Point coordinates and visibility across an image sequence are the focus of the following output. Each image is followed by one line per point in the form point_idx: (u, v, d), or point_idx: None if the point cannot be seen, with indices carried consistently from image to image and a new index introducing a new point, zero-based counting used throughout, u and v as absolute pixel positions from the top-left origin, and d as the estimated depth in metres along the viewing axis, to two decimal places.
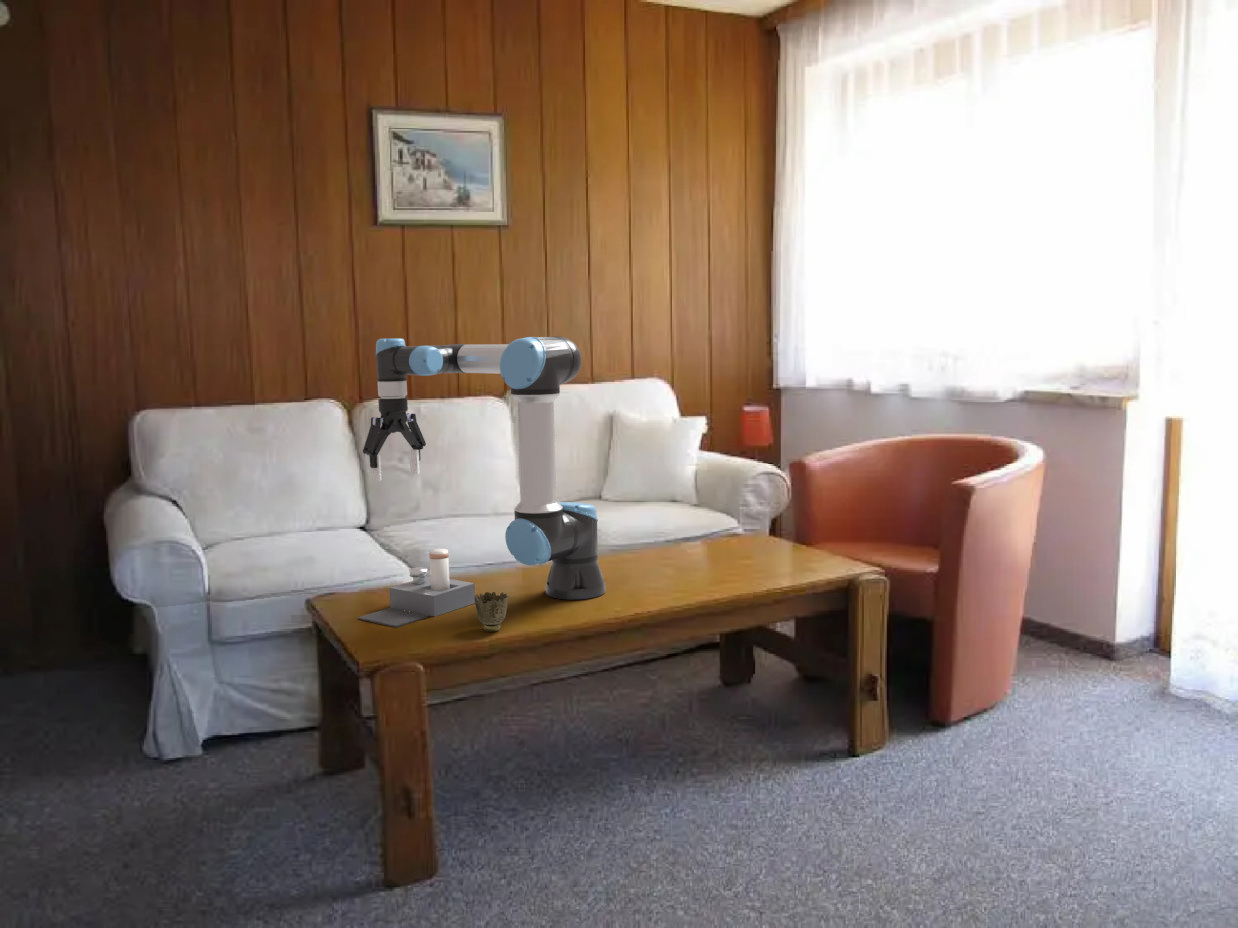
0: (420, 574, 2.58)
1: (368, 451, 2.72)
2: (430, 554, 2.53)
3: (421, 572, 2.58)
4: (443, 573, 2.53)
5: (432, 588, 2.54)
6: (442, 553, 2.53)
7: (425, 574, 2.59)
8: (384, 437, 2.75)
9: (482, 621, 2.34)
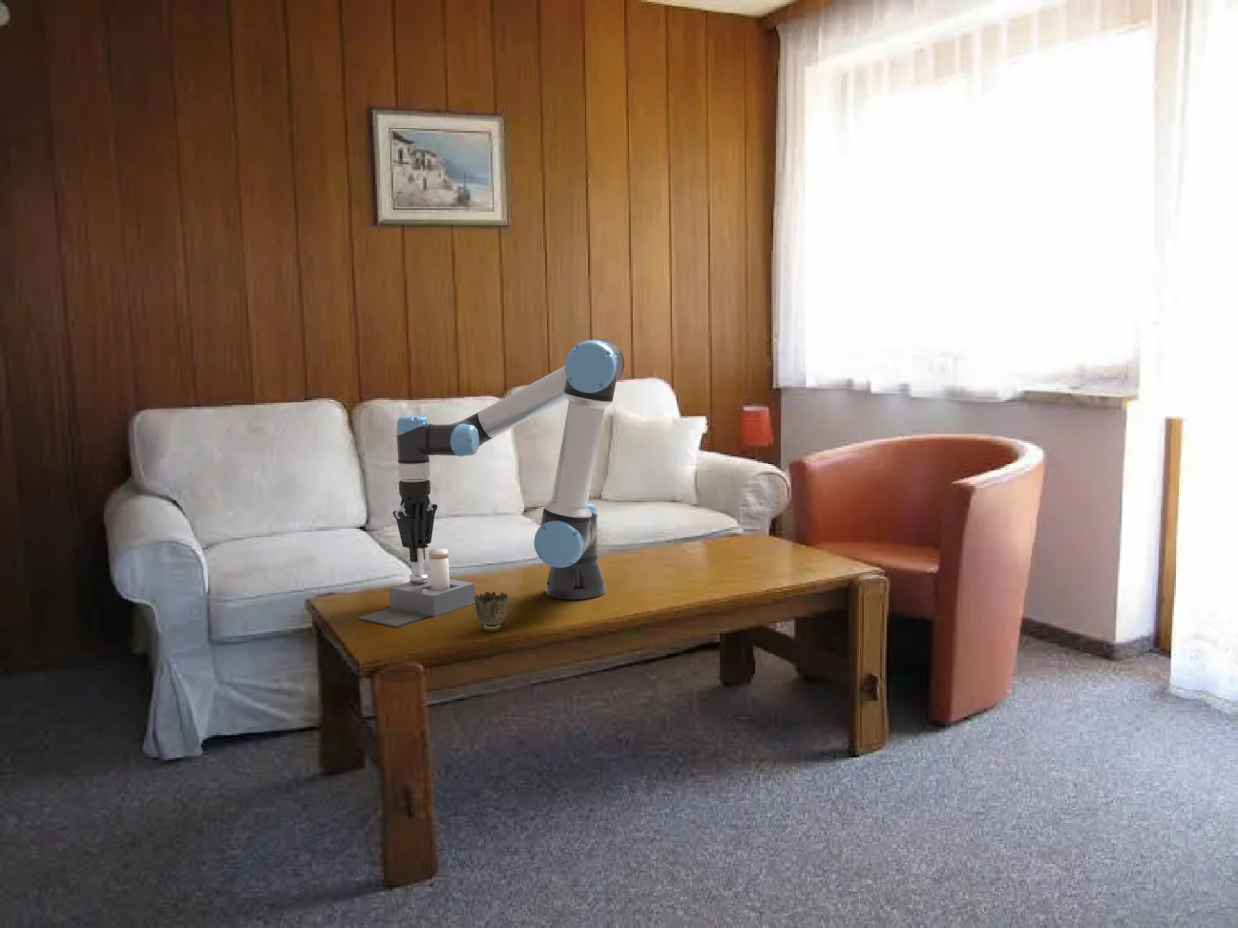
0: (420, 580, 2.58)
1: (408, 546, 2.55)
2: (430, 554, 2.53)
3: (421, 578, 2.58)
4: (443, 573, 2.53)
5: (432, 588, 2.54)
6: (442, 553, 2.53)
7: (425, 580, 2.59)
8: (415, 527, 2.56)
9: (482, 621, 2.34)
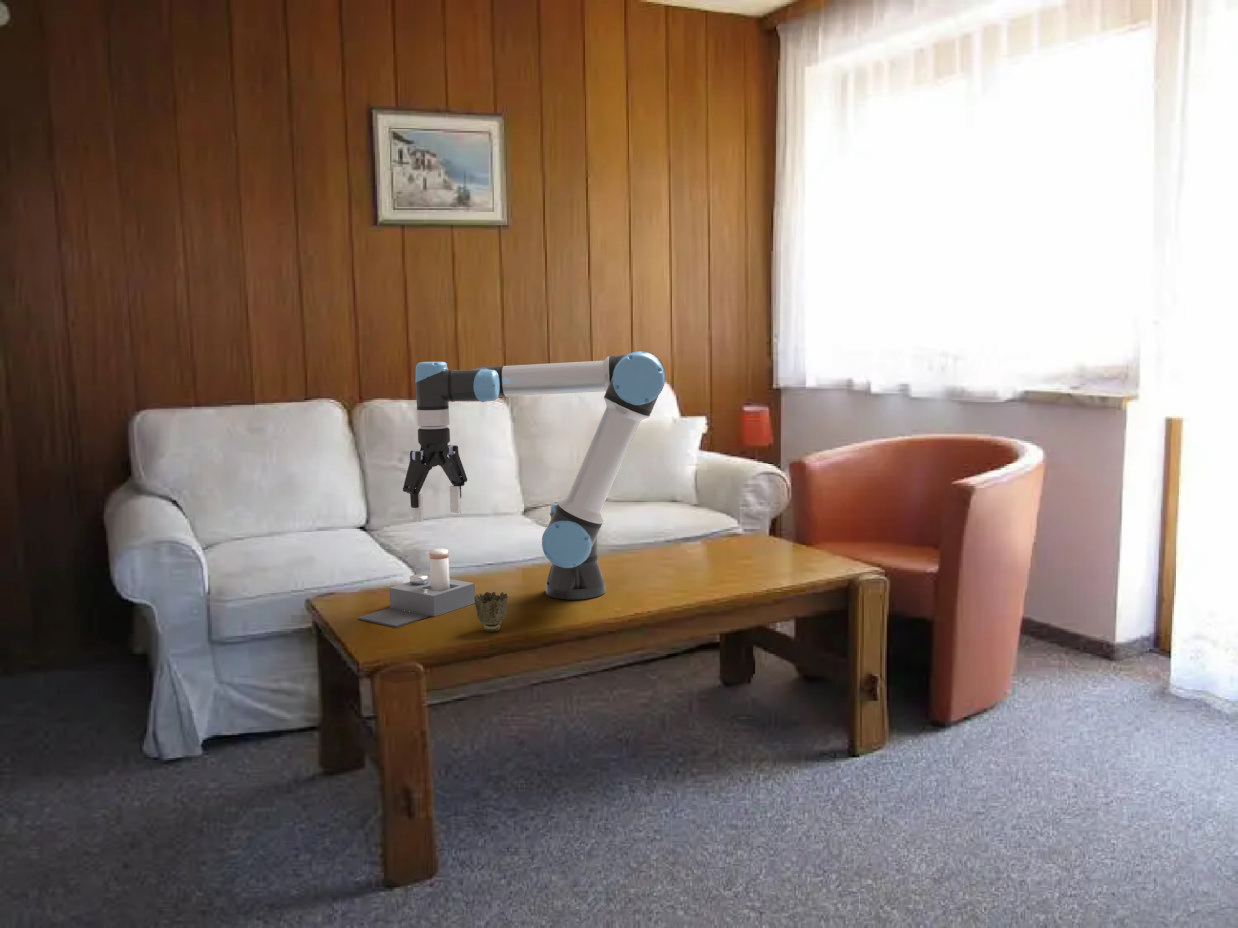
0: (420, 581, 2.58)
1: (409, 489, 2.44)
2: (430, 554, 2.53)
3: (421, 579, 2.58)
4: (443, 573, 2.53)
5: (432, 588, 2.54)
6: (442, 553, 2.53)
7: (425, 581, 2.59)
8: (425, 472, 2.48)
9: (482, 621, 2.34)
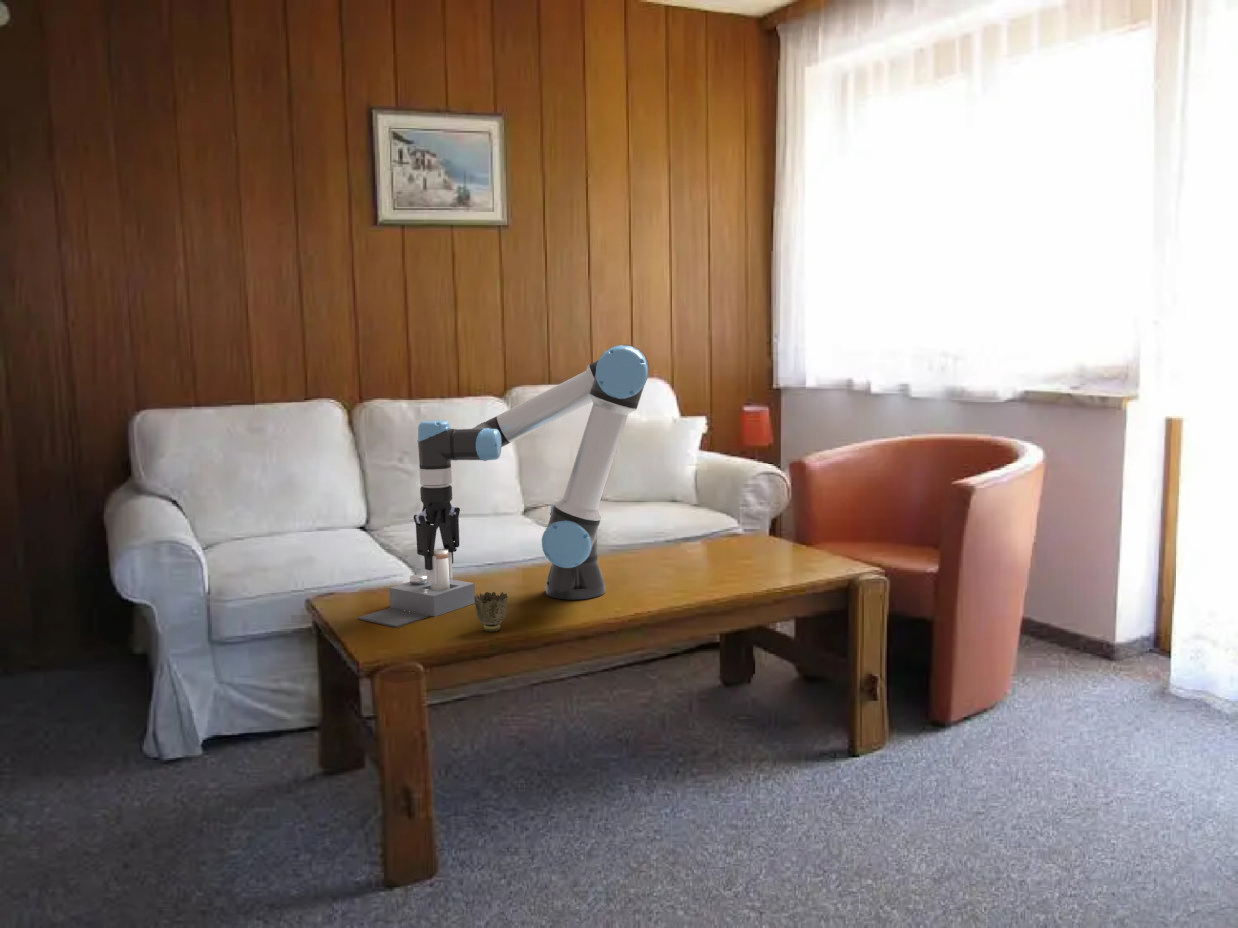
0: (420, 581, 2.58)
1: (423, 554, 2.49)
2: None
3: (421, 579, 2.58)
4: (443, 573, 2.53)
5: (432, 588, 2.54)
6: (442, 553, 2.53)
7: (425, 581, 2.59)
8: (433, 533, 2.51)
9: (482, 621, 2.34)
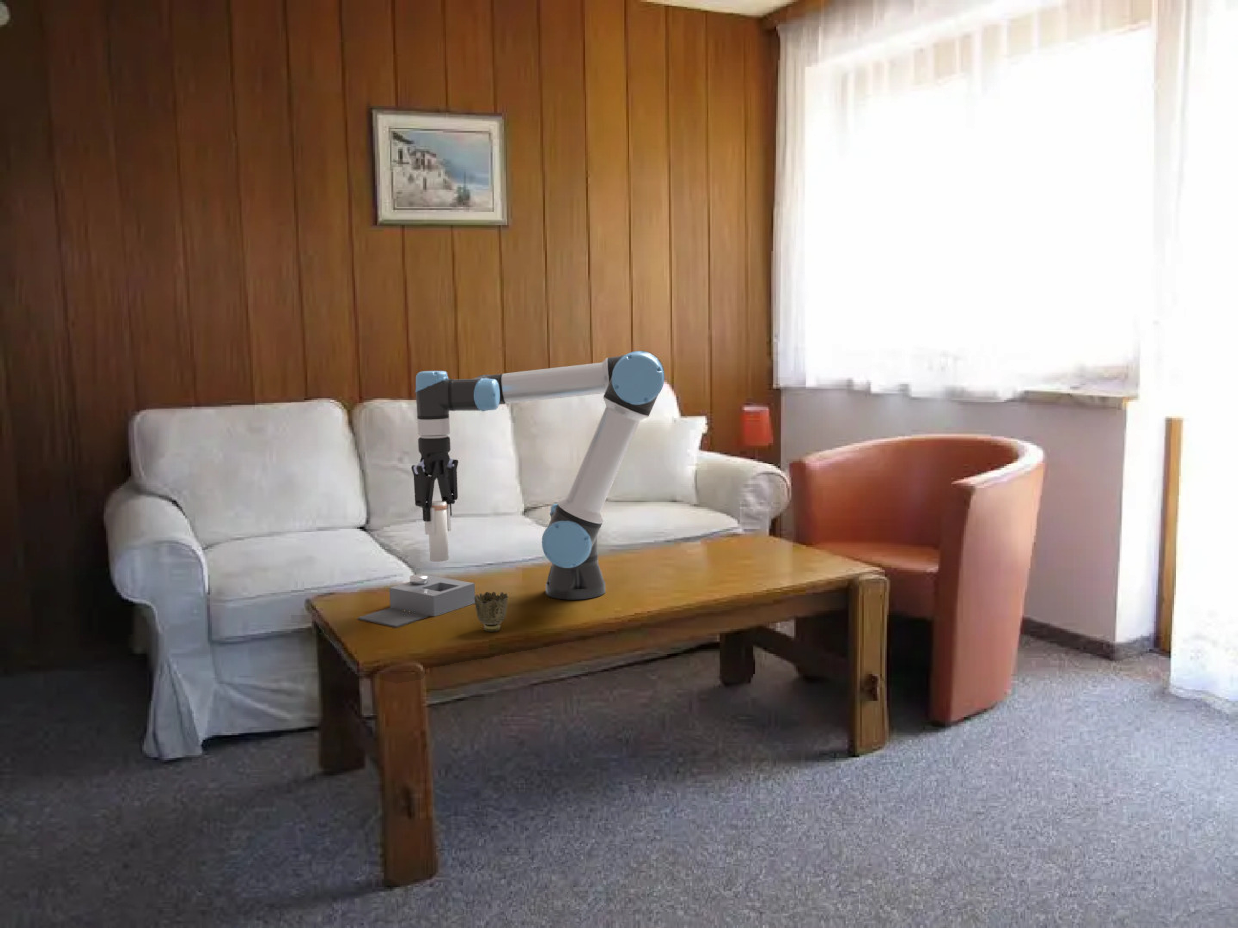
0: (420, 581, 2.58)
1: (421, 504, 2.48)
2: None
3: (421, 579, 2.58)
4: (441, 525, 2.52)
5: (430, 540, 2.53)
6: (440, 504, 2.51)
7: (425, 581, 2.59)
8: (431, 484, 2.50)
9: (482, 621, 2.34)
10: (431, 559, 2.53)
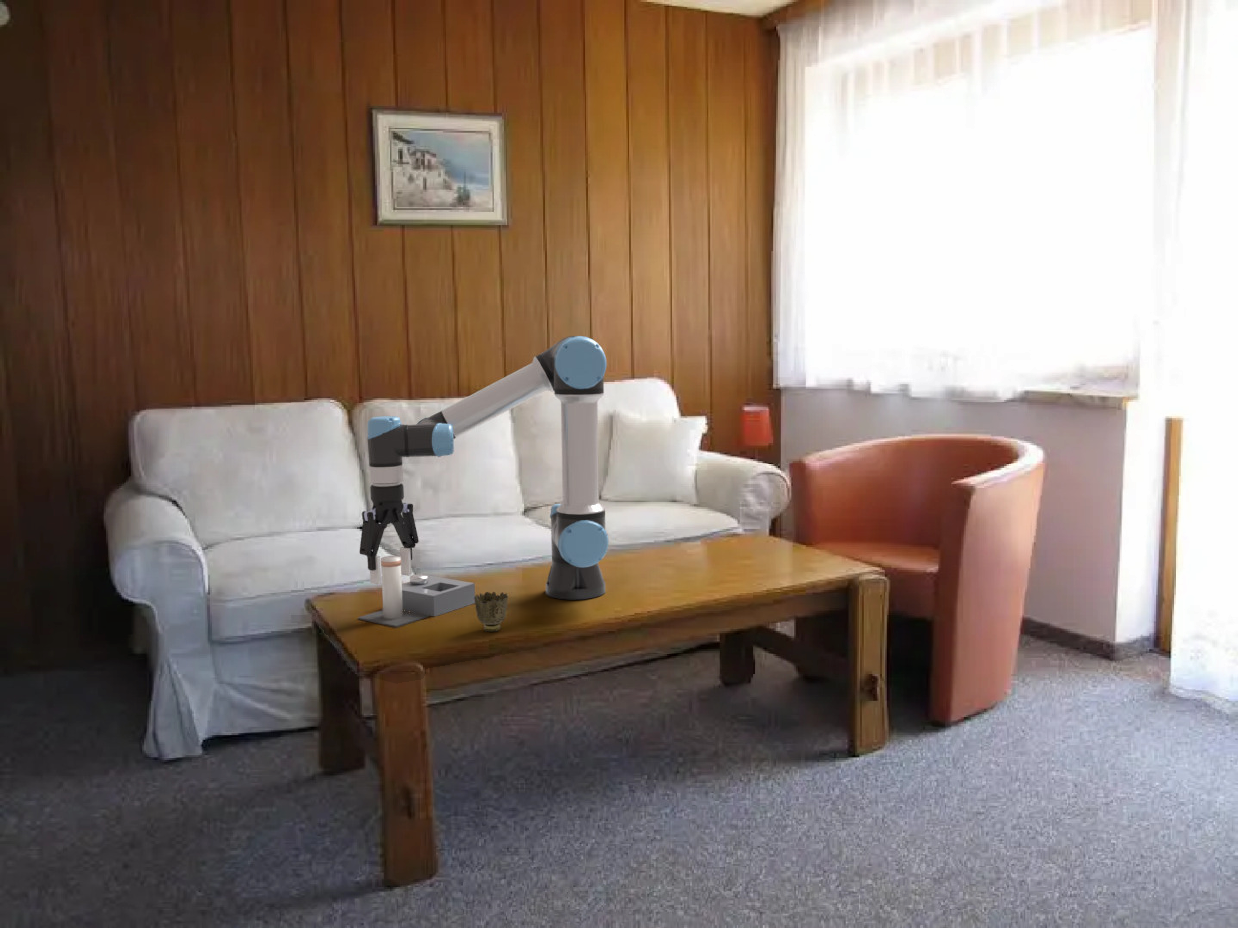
0: (420, 581, 2.58)
1: (366, 553, 2.38)
2: (382, 562, 2.44)
3: (421, 579, 2.58)
4: (395, 581, 2.44)
5: (384, 597, 2.45)
6: (394, 561, 2.44)
7: (425, 581, 2.59)
8: (380, 533, 2.41)
9: (482, 621, 2.34)
10: (384, 616, 2.46)
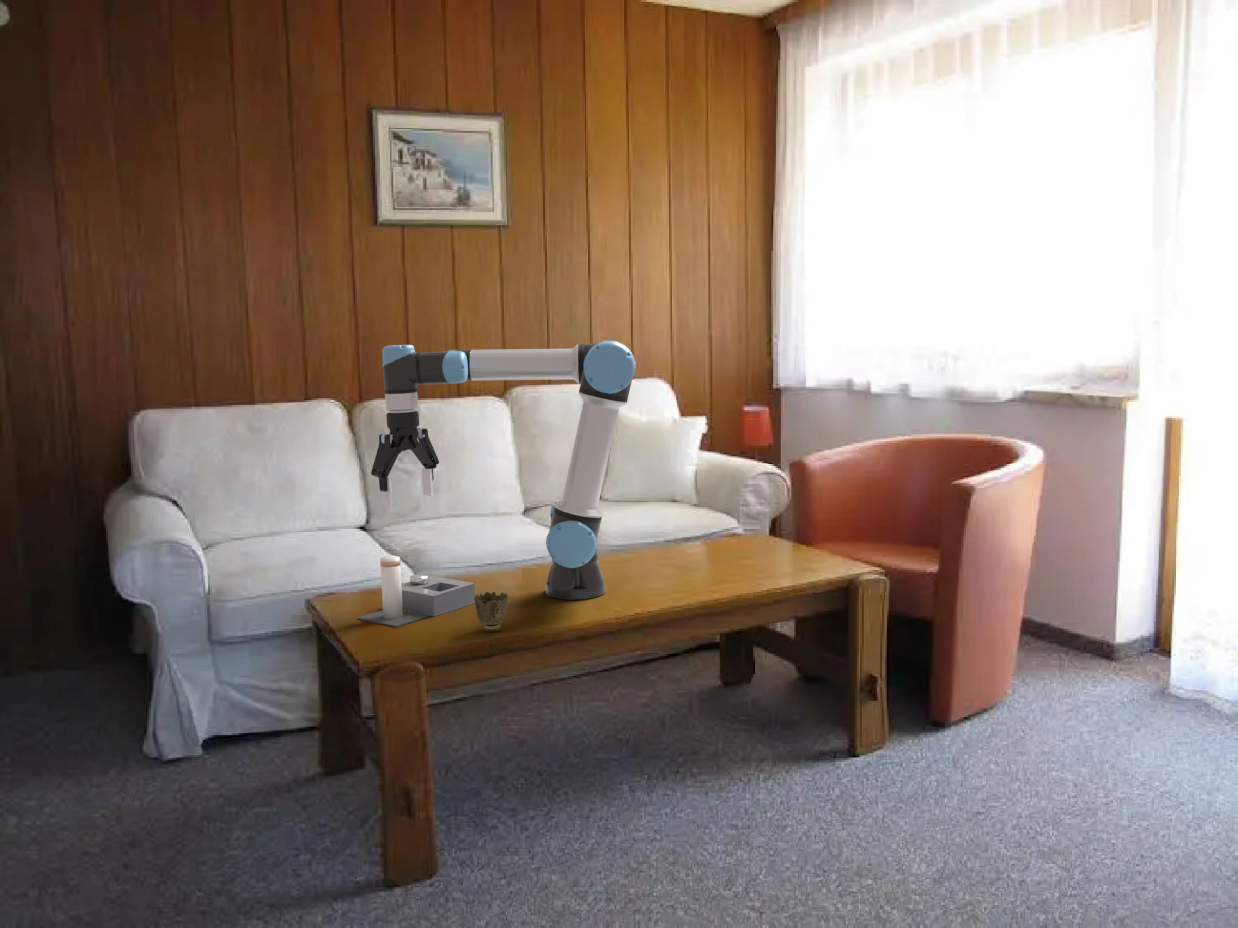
0: (420, 581, 2.58)
1: (377, 473, 2.41)
2: (381, 562, 2.44)
3: (421, 579, 2.58)
4: (394, 581, 2.44)
5: (383, 597, 2.45)
6: (393, 561, 2.44)
7: (425, 581, 2.59)
8: (394, 456, 2.45)
9: (482, 621, 2.34)
10: (384, 616, 2.46)
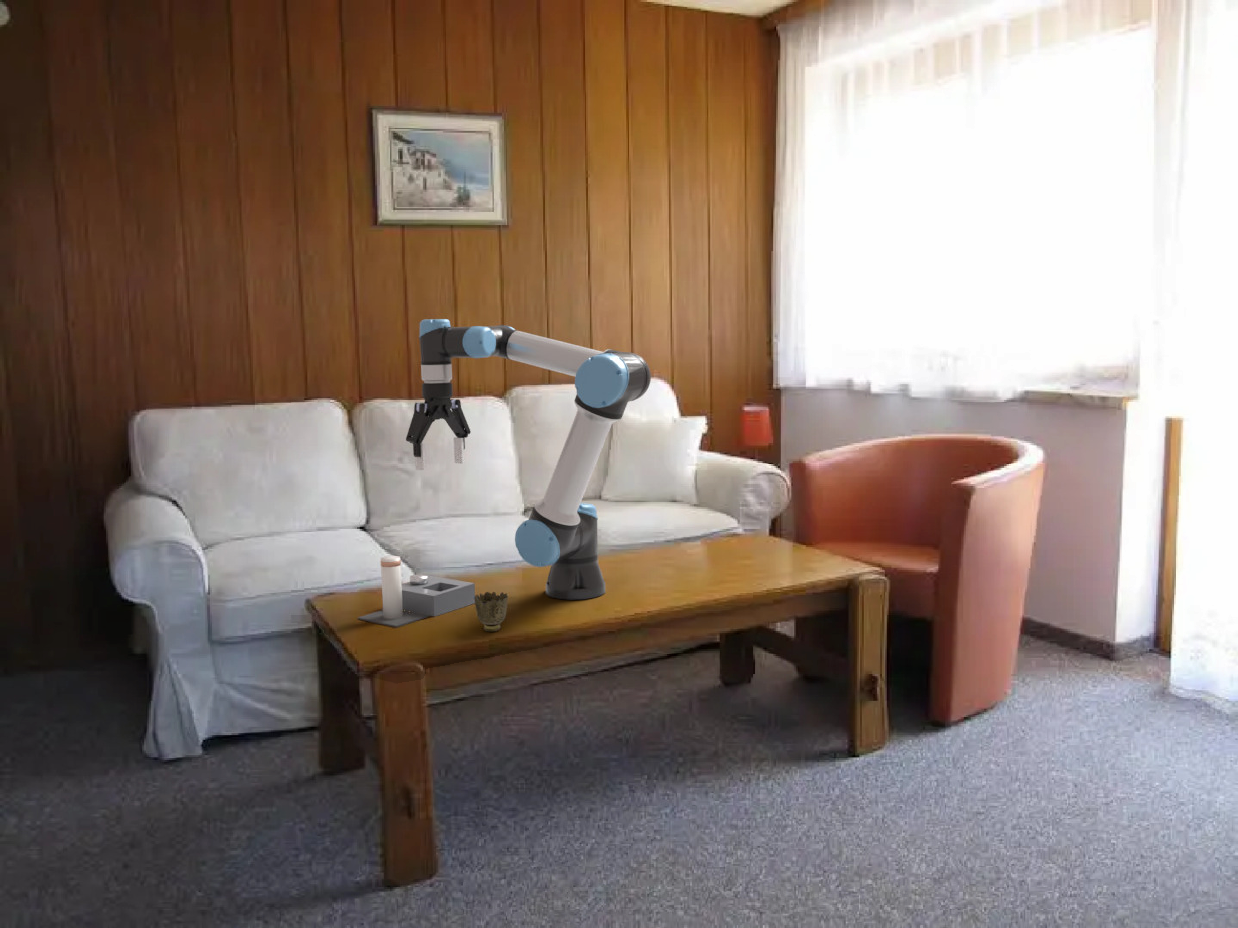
0: (420, 581, 2.58)
1: (412, 439, 2.55)
2: (381, 562, 2.44)
3: (421, 579, 2.58)
4: (394, 581, 2.44)
5: (383, 597, 2.45)
6: (394, 561, 2.44)
7: (425, 581, 2.59)
8: (428, 424, 2.59)
9: (482, 621, 2.34)
10: (384, 616, 2.46)
